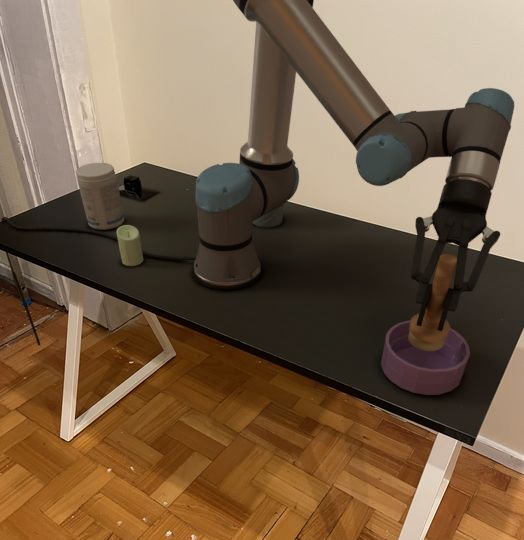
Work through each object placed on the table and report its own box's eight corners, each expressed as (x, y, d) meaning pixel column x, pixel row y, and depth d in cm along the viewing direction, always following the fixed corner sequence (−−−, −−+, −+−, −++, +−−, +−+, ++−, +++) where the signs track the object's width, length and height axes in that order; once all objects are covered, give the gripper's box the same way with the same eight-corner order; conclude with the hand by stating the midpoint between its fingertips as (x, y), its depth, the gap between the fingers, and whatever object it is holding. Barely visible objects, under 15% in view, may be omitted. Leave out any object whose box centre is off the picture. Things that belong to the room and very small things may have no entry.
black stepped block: (110, 192, 155) (107, 177, 152) (126, 184, 160) (124, 169, 157) (142, 201, 150) (139, 185, 147) (158, 192, 155) (156, 177, 152)
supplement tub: (124, 214, 144) (115, 160, 134) (125, 229, 137) (115, 174, 127) (88, 217, 142) (76, 163, 133) (87, 233, 135) (74, 177, 126)
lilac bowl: (368, 377, 93) (372, 351, 89) (397, 336, 102) (402, 311, 98) (446, 408, 87) (455, 382, 83) (470, 362, 96) (479, 336, 92)
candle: (147, 262, 123) (142, 230, 118) (127, 268, 121) (121, 236, 116) (138, 253, 127) (132, 222, 121) (118, 259, 124) (112, 228, 119)
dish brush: (401, 343, 88) (420, 261, 78) (414, 324, 93) (434, 243, 82) (438, 356, 86) (463, 273, 76) (450, 336, 90) (475, 255, 80)
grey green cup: (252, 230, 136) (252, 185, 129) (244, 214, 144) (243, 171, 136) (289, 226, 138) (291, 182, 131) (279, 210, 146) (280, 168, 138)
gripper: (514, 205, 85) (477, 342, 84) (418, 189, 90) (381, 319, 89) (524, 185, 78) (484, 335, 77) (419, 169, 83) (379, 310, 81)
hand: (429, 326), depth 83 cm, fingers closed on dish brush, 3 cm apart
